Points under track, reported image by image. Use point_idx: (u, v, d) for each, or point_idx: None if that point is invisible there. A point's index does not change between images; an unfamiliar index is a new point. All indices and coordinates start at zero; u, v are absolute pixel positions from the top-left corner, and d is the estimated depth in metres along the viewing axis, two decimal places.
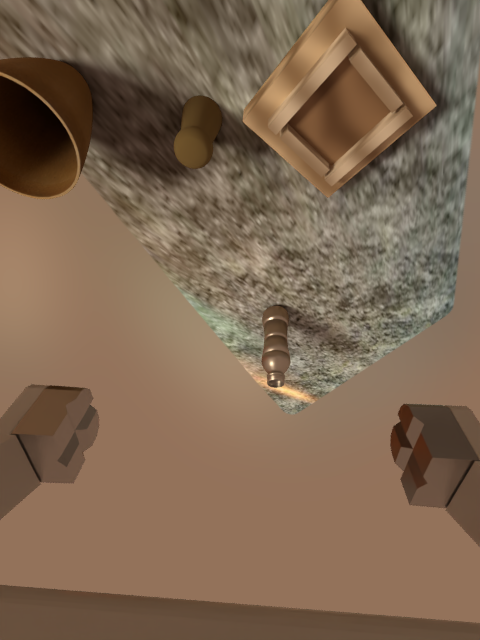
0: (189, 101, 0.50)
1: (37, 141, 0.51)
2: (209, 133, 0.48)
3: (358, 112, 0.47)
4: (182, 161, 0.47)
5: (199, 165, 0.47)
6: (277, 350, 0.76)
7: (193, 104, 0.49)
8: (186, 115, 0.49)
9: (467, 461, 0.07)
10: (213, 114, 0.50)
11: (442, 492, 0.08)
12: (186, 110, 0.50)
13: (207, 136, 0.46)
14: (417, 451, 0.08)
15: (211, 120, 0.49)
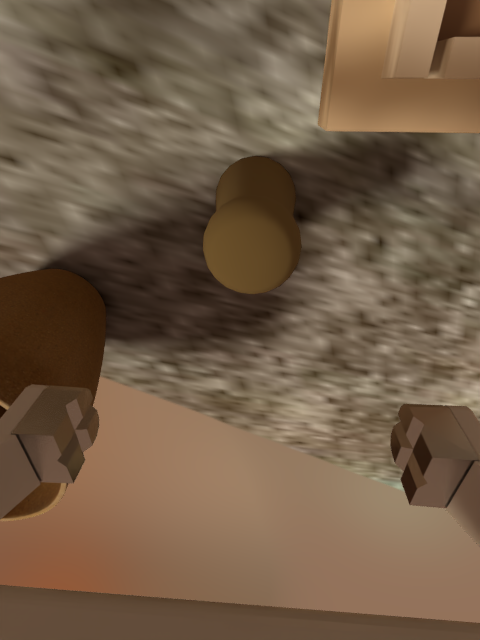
0: (217, 188, 0.26)
1: None
2: (270, 198, 0.20)
3: None
4: (242, 287, 0.19)
5: (283, 271, 0.18)
6: None
7: (223, 183, 0.24)
8: (217, 207, 0.23)
9: (467, 461, 0.07)
10: (264, 170, 0.23)
11: (442, 492, 0.08)
12: (216, 202, 0.25)
13: (264, 198, 0.17)
14: (417, 451, 0.08)
15: (263, 179, 0.22)
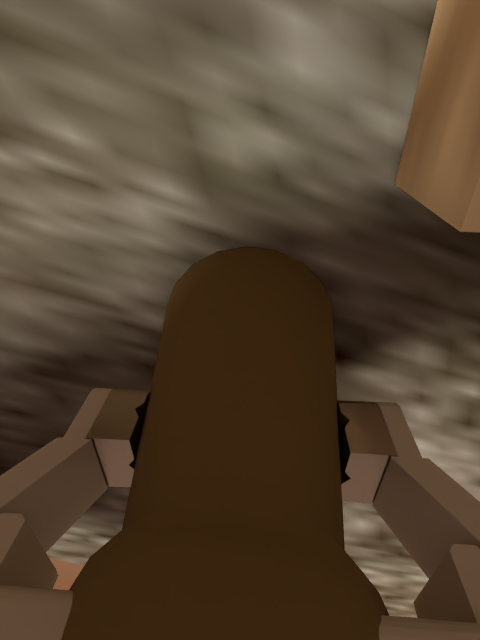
0: (166, 310, 0.12)
1: None
2: (289, 459, 0.06)
3: None
4: None
5: None
6: None
7: (171, 318, 0.10)
8: (151, 391, 0.09)
9: (385, 456, 0.07)
10: (268, 304, 0.09)
11: (366, 487, 0.08)
12: None
13: (268, 635, 0.04)
14: (342, 446, 0.08)
15: (266, 347, 0.08)
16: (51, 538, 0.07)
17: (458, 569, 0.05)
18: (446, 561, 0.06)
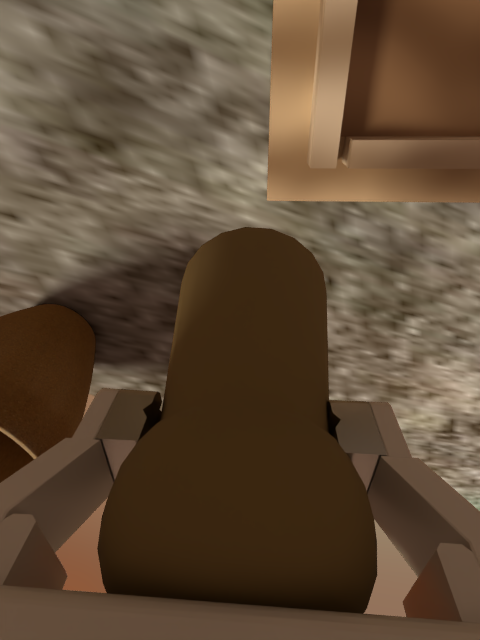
0: (181, 286, 0.14)
1: None
2: (282, 373, 0.08)
3: None
4: None
5: None
6: None
7: (186, 288, 0.12)
8: (172, 346, 0.11)
9: (375, 456, 0.07)
10: (265, 269, 0.11)
11: None
12: None
13: (262, 451, 0.06)
14: None
15: (263, 299, 0.10)
16: (60, 539, 0.07)
17: (445, 568, 0.05)
18: (433, 560, 0.06)
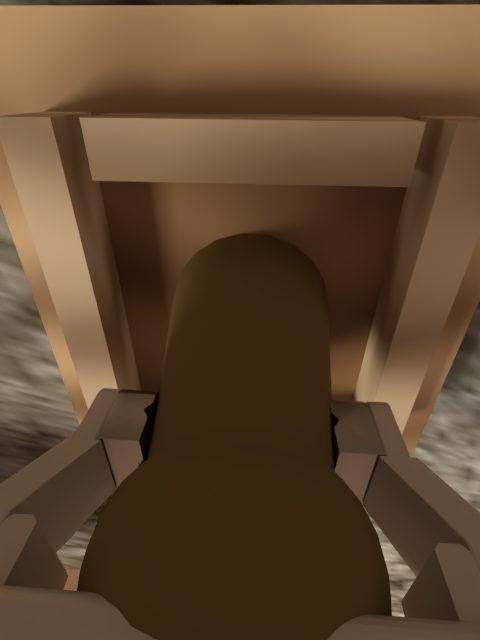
0: (174, 296, 0.13)
1: None
2: (283, 400, 0.07)
3: None
4: None
5: None
6: None
7: (178, 300, 0.11)
8: (164, 363, 0.10)
9: (374, 456, 0.07)
10: (262, 280, 0.10)
11: (356, 487, 0.08)
12: None
13: (261, 506, 0.05)
14: None
15: (261, 314, 0.09)
16: (61, 539, 0.07)
17: (443, 568, 0.05)
18: (431, 560, 0.06)
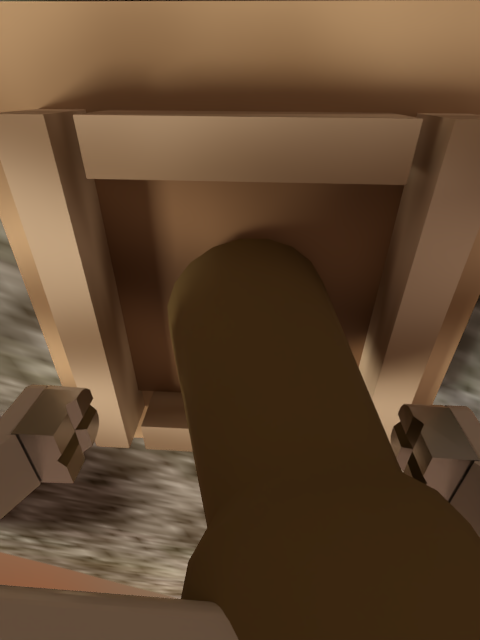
0: (171, 311, 0.12)
1: None
2: (350, 416, 0.07)
3: None
4: None
5: None
6: None
7: (185, 316, 0.11)
8: None
9: (467, 461, 0.07)
10: (281, 288, 0.10)
11: (442, 492, 0.08)
12: (175, 354, 0.11)
13: (406, 546, 0.04)
14: (417, 451, 0.08)
15: (294, 325, 0.09)
16: None
17: None
18: None
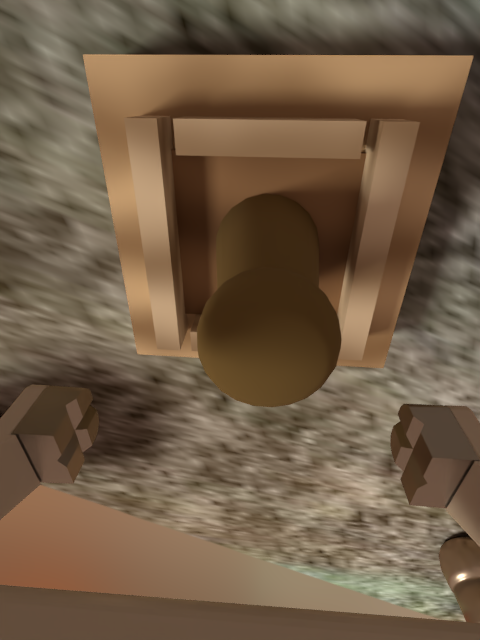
0: (217, 237, 0.20)
1: None
2: (291, 263, 0.14)
3: None
4: (257, 402, 0.13)
5: (317, 380, 0.12)
6: None
7: (223, 233, 0.18)
8: (217, 268, 0.17)
9: (467, 461, 0.07)
10: (277, 216, 0.17)
11: (442, 492, 0.08)
12: None
13: (283, 277, 0.11)
14: (417, 451, 0.08)
15: (278, 231, 0.16)
16: None
17: None
18: None
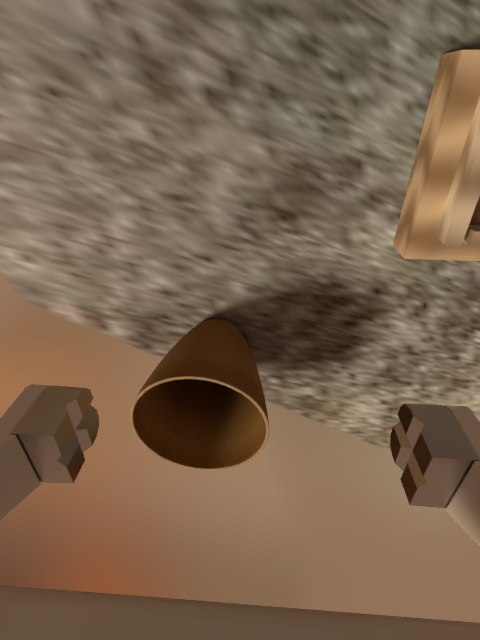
0: None
1: (213, 400, 0.48)
2: None
3: None
4: None
5: None
6: None
7: None
8: None
9: (467, 461, 0.07)
10: None
11: (442, 492, 0.08)
12: None
13: None
14: (417, 451, 0.08)
15: None
16: None
17: None
18: None
